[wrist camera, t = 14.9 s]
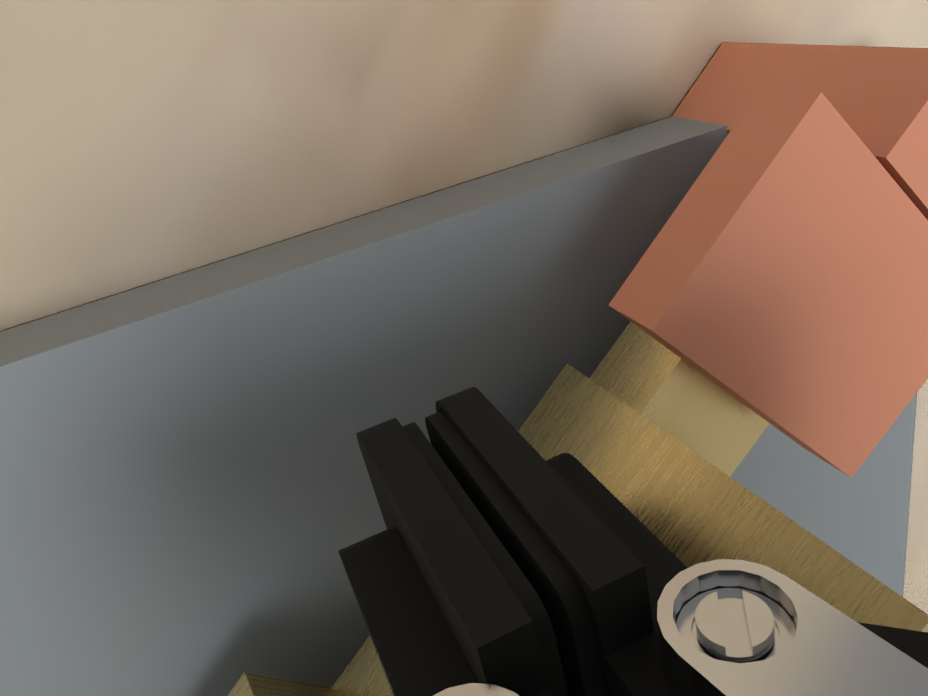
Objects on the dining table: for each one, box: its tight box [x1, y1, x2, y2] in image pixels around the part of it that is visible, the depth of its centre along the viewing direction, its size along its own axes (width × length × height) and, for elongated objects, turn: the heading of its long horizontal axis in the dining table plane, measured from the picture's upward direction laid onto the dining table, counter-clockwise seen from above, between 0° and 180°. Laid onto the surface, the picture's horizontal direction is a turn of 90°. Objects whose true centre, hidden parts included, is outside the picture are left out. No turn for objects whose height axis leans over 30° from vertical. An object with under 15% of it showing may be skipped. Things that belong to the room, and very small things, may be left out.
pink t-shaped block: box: [609, 42, 928, 478], centre depth 12 cm, size 5×5×5 cm
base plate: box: [0, 116, 917, 696], centre depth 17 cm, size 20×19×2 cm
